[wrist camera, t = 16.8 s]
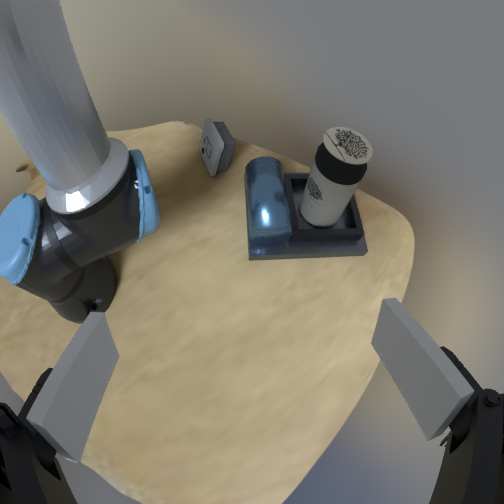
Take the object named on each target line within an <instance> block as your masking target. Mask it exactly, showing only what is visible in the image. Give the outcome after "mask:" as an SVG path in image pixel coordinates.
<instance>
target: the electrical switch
mask: <svg viewBox="0 0 504 504" xmlns="http://www.w3.org/2000/svg"><path fill="white" fill-rule="evenodd" d="M221 129H222V130H221ZM221 137H222V138H221ZM235 145H236V143H235V141H234V139H233V138H232V136H231V134H230V132H229V131H228V129H227V127H226V126H225V124H224V122H213V121H212V119H211V118H209V119H206V121H205V125H204V129H203V134H202V138H201V142H200V147H199V151H200V153H201V156H202V158H203V160H204V163H205V165H206V167H207V170H208V172H209V174H210V176H215V175H216V172H221V171H227V168H228V165H229V162H230V159H231V157H232V154H233V151H234V148H235ZM223 161H224V162H223Z"/></svg>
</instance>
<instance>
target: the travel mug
mask: <svg viewBox="0 0 504 504" xmlns="http://www.w3.org/2000/svg"><path fill="white" fill-rule="evenodd" d="M372 155H373V150H372V147H371V145H370V143H369V142H368V140H367V139H366V138H365V137H364V136H363V135H361V134H360V133H358V132H357V131H355V130H352V129H350V128H346V127H333V128H330V129H328V130H327V131H326V132H325V133H324V136H323V143H322V144H321V145H320V146H319V147H318V149H317V153H316V156H315V159H314V162H313V166H312V168H311V171H310V175H309V178H308V181H307V184H306V187H305V190H304V193H303V196H302V199H301V202H300V211H301V213H302V215H303V217H304V218H305V219H306V220H307V221H308V222H309V223H311V224H312V225H315V226H318V227H329V226H332V225H334V224H335V223H336V222H337V221H338V219H339V218H340V216H341V214H342V213H343V211H344V209H345V207H346V206H347V204H348V202H349V201H350V199H351V197H352V195H353V194H354V192H355V190H356V188H357V187H358V185H359V183H360V181H361V179H362V178H363V176H364V174H365V172H366V170H367V162H368V161H369V160H370V159H371V158H372Z"/></svg>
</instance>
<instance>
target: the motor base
mask: <svg viewBox="0 0 504 504" xmlns="http://www.w3.org/2000/svg"><path fill="white" fill-rule="evenodd" d="M245 171H246V173H245V178H244V180H245V198H246V216H247V234H248V252H249V260H273V259H297V258H320V257H342V256H363V255H365V254H366V253H367V252H368V250H367V245H366V241H365V237H364V231H363V227H362V223H361V219H360V215H359V212H358V208H357V204H356V201H355V197H354V194H353V195H352V197H351V199H350V201H349V202H348V204H347V206H346V207H345V209H344V211H343V213H342V214H341V216H340V218H339V219H338V221H337V222H336V223H335V224H334V225H332V226H329V227H318V226H315V225H312V224H311V223H309V222H308V221H307V220H306V219H305V218H304V217H303V215H302V213H301V211H300V202H301V199H302V196H303V193H304V190H305V187H306V184H307V181H308V178H309V175H310V173H284V172H283V166H282V164H281V162H280V161H279V160H277V159H275V158H272V157H259V158H255V159H253V160H251V161H250V162H249V163H248V164H247V166H246V169H245Z"/></svg>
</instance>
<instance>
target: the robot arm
mask: <svg viewBox="0 0 504 504" xmlns="http://www.w3.org/2000/svg"><path fill="white" fill-rule="evenodd" d="M0 111H1V113H2V115H3V117H4V118H5V120H6V121H7V123H8V125H9V127H10V128H11V130H12V132H13V133H14V135H15V136H16V138H17V140H18V141H19V143H20V144H21V146H22V147H23V149H24V150H25V152H26V153H27V155H28V156H29V158H30V159H31V161H32V162H33V164H34V165H35V166H36V168H37V169H38V171H39V172H40V173H41V175H42V176H43V178H44V179H45V180H46V182H47V183H48V184H47V188H46V197H45V198H43V199H41V200H38V199H37V197H36V196H34V195H31V194H27V193H24V194H21V195H19V196H17V197H15V198H14V199H13V200H12V201H11V202H10V203H9V204H8V205H7V207H6V208H5V209H4V211H3V212H2V214H1V216H0V275H1V276H2V277H4V278H5V279H7V280H8V281H9V283H10V284H12V285H16V286H18V287H20V288H22V289H24V290H26V291H28V292H30V293H32V294H34V295H36V296H38V297H40V298H43V299H45V300H47V301H49V303H50V304H51V305H52V306H53V308H54V309H55V310H56V311H57V312H58V313H59V314H60V315H61V316H62V317H63V318H65V319H67V320H69V321H72V322H75V323H81V324H82V323H83V324H82V325H81V326H80V328H79V329H78V331H77V332H76V334H75V335H74V337H73V338H72V340H71V341H70V343H69V344H68V346H67V348H66V349H65V351H64V352H63V354H62V355H61V357H60V359H59V360H58V362H57V363H56V365H55V367H54V368H48V369H47V370H46V371H45V372H44V373H43V374H42V375H41V376H40V378H39V379H38V381H37V383H36V385H35V386H34V388H33V390H32V392H31V393H30V395H29V396H28V398H27V400H26V402H25V404H24V406H23V407H22V409H21V411H20V413H19V415H18V416H16V415H15V413H14V412H13V411H12V410H11V408H10V407H9V406H8V405H7V404H5V403H0V504H77V502H76V500H75V498H74V496H73V494H72V492H71V490H70V488H69V486H68V483H67V481H66V479H65V476H64V474H63V472H62V469H61V467H60V464H59V462H58V460H57V458H56V457H55V455H56V452H58V453H59V454H60V455H61V456H62V457H63V458H64V459H67V460H70V461H73V462H76V463H80V460H81V457H82V454H83V451H84V448H85V445H86V442H87V439H88V436H89V433H90V430H91V427H92V424H93V422H94V419H95V416H96V413H97V411H98V408H99V405H100V403H101V400H102V397H103V395H104V392H105V390H106V387H107V385H108V382H109V380H110V377H111V375H112V373H113V370H114V368H115V365H116V363H117V361H118V358H119V354H118V351H117V349H116V346H115V343H114V341H113V338H112V335H111V332H110V329H109V326H108V323H107V320H106V317H105V314H104V312H105V311H106V310H107V308H108V307H109V305H110V303H111V301H112V299H113V296H114V293H115V289H116V273H115V268H114V266H113V263H112V261H111V260H110V258H109V257H108V255H111V254H113V253H115V252H117V251H119V250H121V249H123V248H125V247H128V246H130V245H132V244H134V243H138V242H140V241H141V239H142V238H144V237H146V236H148V235H150V234H152V233H153V232H155V231H156V230H157V229H158V227H159V225H160V214H159V209H158V205H157V201H156V198H155V194H154V191H153V189H152V184H151V180H150V176H149V173H148V169H147V166H146V163H145V160H144V157H143V155H142V153H141V151H140V150H137V149H136V150H129V151H128V149H127V147H126V146H125V144H124V143H123V142H122V141H120V140H118V139H115V138H108V136H107V134H106V132H105V129H104V127H103V125H102V123H101V120H100V118H99V116H98V113H97V111H96V108H95V106H94V104H93V101H92V98H91V96H90V93H89V91H88V88H87V86H86V83H85V80H84V78H83V75H82V72H81V69H80V67H79V64H78V61H77V58H76V55H75V52H74V49H73V46H72V43H71V40H70V37H69V33H68V30H67V27H66V23H65V20H64V17H63V13H62V9H61V5H60V1H59V0H0ZM371 344H372V346H373V347H374V349H375V351H376V352H377V354H378V355H379V357H380V359H381V360H382V362H383V363H384V365H385V367H386V369H387V370H388V372H389V373H390V375H391V377H392V378H393V380H394V382H395V383H396V385H397V386H398V389H399V390H400V392H401V394H402V395H403V397H404V399H405V401H406V402H407V404H408V406H409V408H410V410H411V411H412V413H413V415H414V417H415V418H416V420H417V422H418V424H419V426H420V427H421V429H422V431H423V433H424V435H425V437H426V438H427V440H428V441H429V440H431V439H433V438H435V437H437V436H440V435H441V434H442V433H443V432H444V431H445V430H446V429H447V427H448V426H449V427H450V429H451V431H450V433H449V434H448V435H447V436H446V437H445V438H444V439H443V440H442V442H441V444H440V446H442V445H443V444H444V443H445V442H446V441H447V444H446V445H445V447H446V448H445V453H444V457H443V461H442V465H441V468H440V472H439V475H438V479H437V482H436V485H435V488H434V491H433V494H432V497H431V500H430V503H429V504H504V394H499V393H497V392H496V391H495V390H492V389H484V390H483V389H482V388H481V387H480V385H479V384H478V383H477V382H476V380H475V379H474V378H473V377H472V375H471V374H470V373H469V372H468V370H467V369H466V368H465V367H464V366H463V364H462V363H461V362H460V361H459V360H458V358H457V357H456V356H455V355H454V354H453V352H451V351H450V350H448V349H447V348H445V347H444V346H443V347H439V346H438V345H437V344H436V342H435V341H434V340H433V339H432V338H431V337H430V336H429V334H428V333H427V332H426V331H425V330H424V329H423V327H422V326H421V325H420V324H419V323H418V322H417V321H416V320H415V319H414V318H413V316H412V315H411V314H410V313H409V312H408V311H407V310H406V309H405V308H404V307H403V305H402V304H401V303H400V302H399V301H398V300H397V299H396V298H390V299H383V300H382V304H381V309H380V313H379V317H378V320H377V324H376V328H375V331H374V335H373V338H372V342H371Z"/></svg>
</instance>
